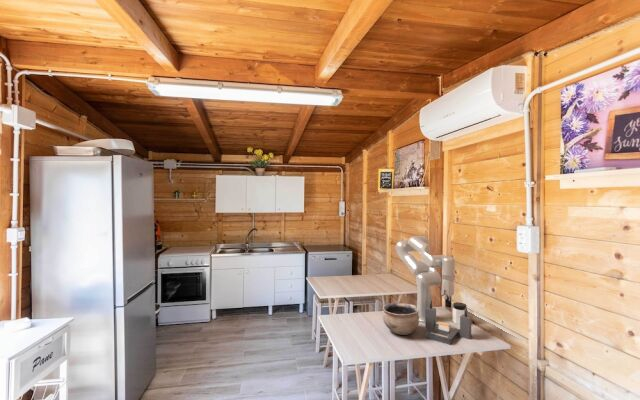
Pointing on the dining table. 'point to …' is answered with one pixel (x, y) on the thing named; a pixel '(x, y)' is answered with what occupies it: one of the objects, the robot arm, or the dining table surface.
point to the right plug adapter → (465, 325)
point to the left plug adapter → (430, 316)
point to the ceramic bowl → (401, 317)
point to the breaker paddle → (444, 326)
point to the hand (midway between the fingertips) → (448, 307)
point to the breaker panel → (443, 334)
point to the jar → (458, 311)
